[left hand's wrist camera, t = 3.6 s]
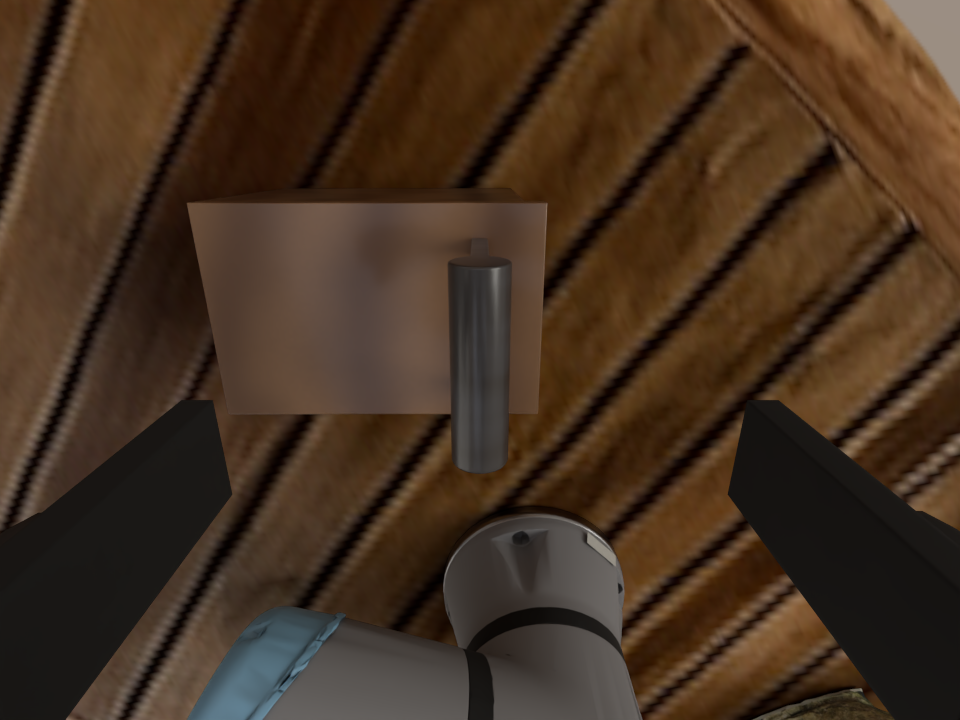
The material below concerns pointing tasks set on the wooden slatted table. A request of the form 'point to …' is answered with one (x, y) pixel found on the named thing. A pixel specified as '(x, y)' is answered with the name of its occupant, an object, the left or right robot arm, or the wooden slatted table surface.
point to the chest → (379, 194)
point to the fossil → (831, 708)
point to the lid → (379, 310)
